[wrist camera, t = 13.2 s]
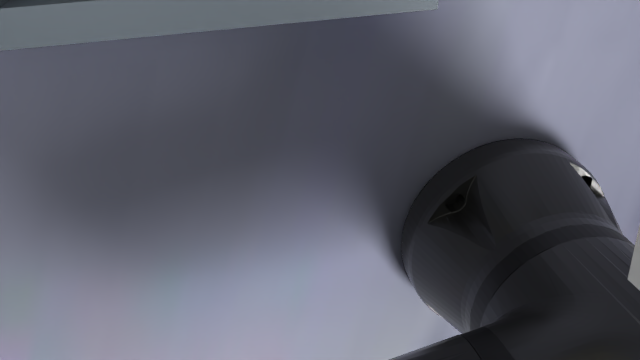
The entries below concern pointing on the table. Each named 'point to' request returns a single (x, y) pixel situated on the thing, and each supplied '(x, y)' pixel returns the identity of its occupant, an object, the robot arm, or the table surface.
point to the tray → (168, 17)
